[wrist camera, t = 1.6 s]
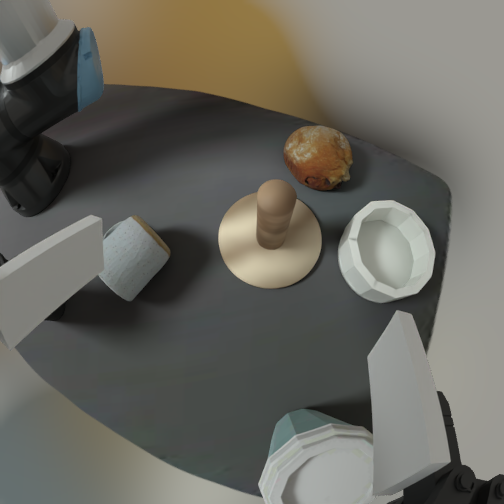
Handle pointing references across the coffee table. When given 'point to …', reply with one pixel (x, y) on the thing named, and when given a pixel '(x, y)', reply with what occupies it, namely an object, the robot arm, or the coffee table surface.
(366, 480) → the disposable coffee cup
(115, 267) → the ceramic mug
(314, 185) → the bread roll
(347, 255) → the bowl
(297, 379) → the coffee table surface
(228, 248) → the lid
